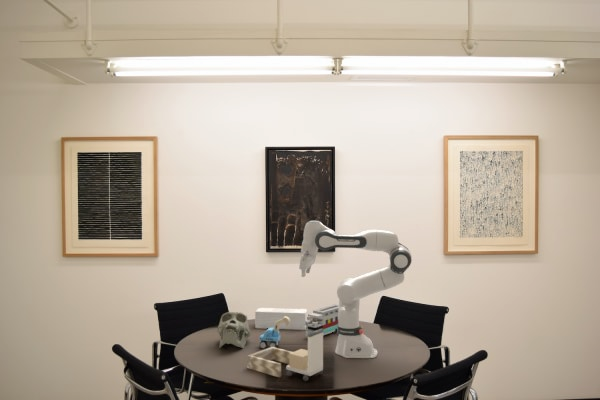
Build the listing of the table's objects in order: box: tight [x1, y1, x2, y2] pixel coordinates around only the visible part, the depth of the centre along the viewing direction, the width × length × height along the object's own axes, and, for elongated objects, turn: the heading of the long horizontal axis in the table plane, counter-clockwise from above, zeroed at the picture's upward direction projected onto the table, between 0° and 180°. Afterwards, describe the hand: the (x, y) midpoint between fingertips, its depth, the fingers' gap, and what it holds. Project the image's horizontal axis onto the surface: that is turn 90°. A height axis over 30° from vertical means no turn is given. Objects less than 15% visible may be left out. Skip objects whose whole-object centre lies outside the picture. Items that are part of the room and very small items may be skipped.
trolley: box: [285, 329, 324, 382], centre depth 225 cm, size 14×12×22 cm
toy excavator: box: [259, 316, 290, 349], centre depth 267 cm, size 9×17×17 cm, turn 78°
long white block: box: [254, 307, 308, 331], centre depth 310 cm, size 32×11×11 cm, turn 83°
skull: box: [217, 311, 252, 349], centre depth 271 cm, size 18×21×28 cm
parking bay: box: [246, 347, 293, 378], centre depth 236 cm, size 20×18×6 cm
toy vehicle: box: [304, 303, 339, 338], centre depth 293 cm, size 8×30×15 cm, turn 141°
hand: (305, 274), depth 262 cm, fingers open, 8 cm apart
